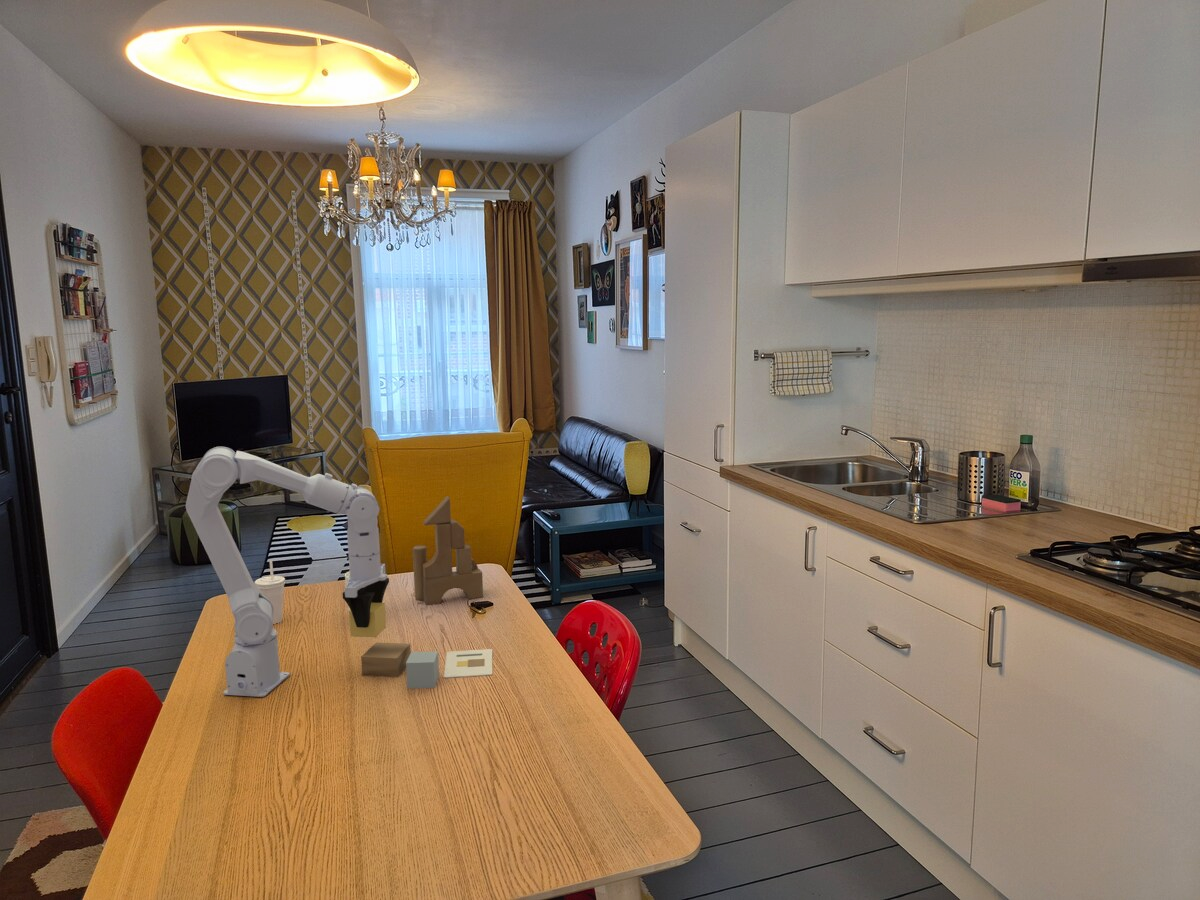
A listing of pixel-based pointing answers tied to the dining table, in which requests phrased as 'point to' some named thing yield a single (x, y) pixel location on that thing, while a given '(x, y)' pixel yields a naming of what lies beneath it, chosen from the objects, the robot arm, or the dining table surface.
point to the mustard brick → (370, 622)
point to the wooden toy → (445, 561)
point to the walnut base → (385, 659)
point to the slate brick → (422, 670)
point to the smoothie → (273, 592)
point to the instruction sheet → (468, 663)
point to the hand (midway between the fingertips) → (368, 621)
